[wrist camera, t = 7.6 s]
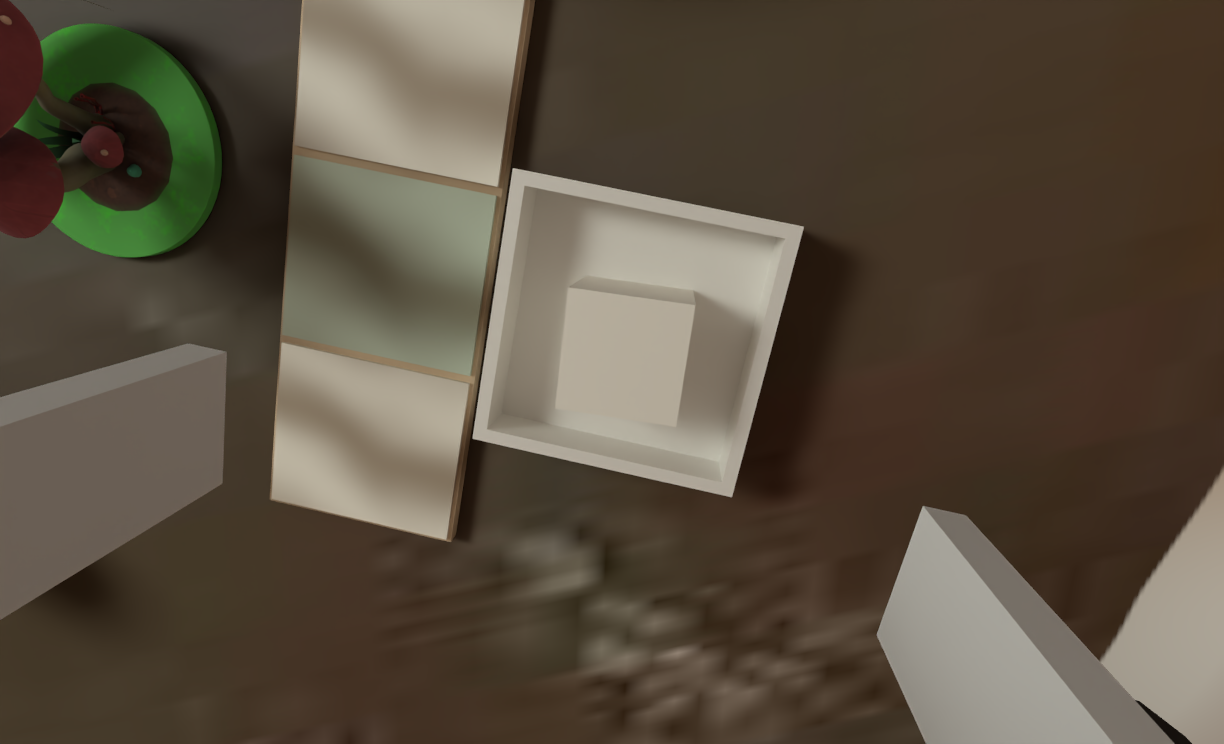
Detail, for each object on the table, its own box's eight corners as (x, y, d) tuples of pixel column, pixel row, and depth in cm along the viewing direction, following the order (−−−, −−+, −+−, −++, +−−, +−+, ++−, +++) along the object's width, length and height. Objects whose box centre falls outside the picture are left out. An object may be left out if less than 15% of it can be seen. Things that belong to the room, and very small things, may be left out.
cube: (586, 275, 30) (568, 287, 25) (693, 290, 30) (695, 305, 25) (574, 378, 31) (554, 408, 26) (676, 393, 31) (675, 427, 26)
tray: (529, 172, 30) (513, 168, 27) (791, 225, 29) (804, 227, 26) (490, 418, 33) (472, 438, 30) (727, 471, 32) (731, 497, 29)
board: (316, -62, 28) (304, -72, 27) (538, -21, 28) (533, -29, 27) (278, 493, 35) (267, 501, 34) (455, 535, 35) (449, 543, 34)
